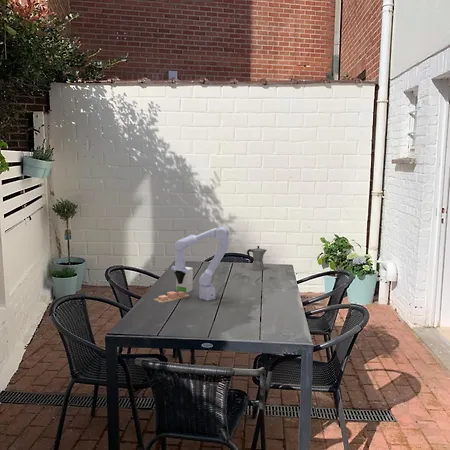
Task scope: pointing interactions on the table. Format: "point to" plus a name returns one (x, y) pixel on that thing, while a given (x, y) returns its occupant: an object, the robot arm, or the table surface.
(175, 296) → the tile two
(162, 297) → the tile three
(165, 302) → the board
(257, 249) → the coffeepot
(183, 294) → the tile one
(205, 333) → the table surface
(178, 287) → the skincare box
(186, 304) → the table surface
